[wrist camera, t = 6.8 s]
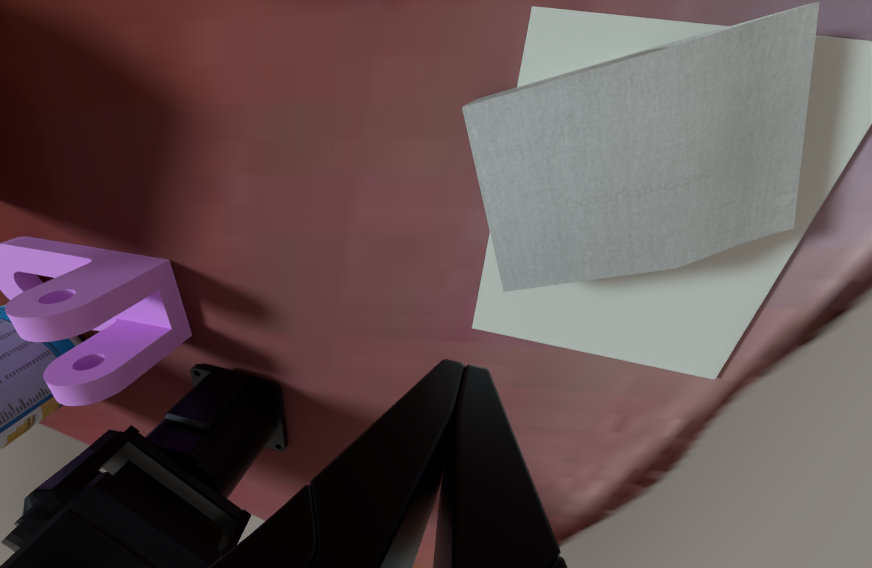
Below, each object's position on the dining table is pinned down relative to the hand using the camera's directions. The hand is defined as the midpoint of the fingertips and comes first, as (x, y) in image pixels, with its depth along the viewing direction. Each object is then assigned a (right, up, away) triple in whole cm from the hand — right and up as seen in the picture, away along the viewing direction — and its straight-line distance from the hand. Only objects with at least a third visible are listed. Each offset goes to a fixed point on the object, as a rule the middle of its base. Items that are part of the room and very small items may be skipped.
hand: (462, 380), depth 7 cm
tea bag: (+1, +5, +8) cm, 10 cm away
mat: (+8, +4, +9) cm, 13 cm away
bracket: (-23, +2, +19) cm, 30 cm away
